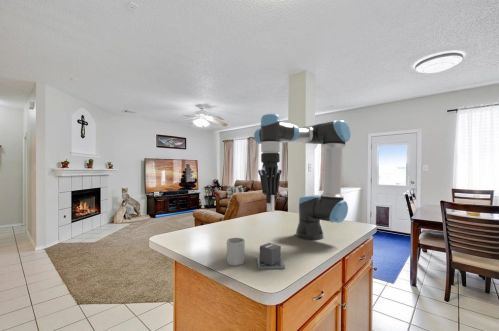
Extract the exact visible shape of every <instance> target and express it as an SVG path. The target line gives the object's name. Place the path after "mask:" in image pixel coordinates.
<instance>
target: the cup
mask: <svg viewBox="0 0 499 331" xmlns="http://www.w3.org/2000/svg"><path fill="white" fill-rule="evenodd" d="M245 242H246V241H245V239H244V238H242V237H230V238H228V239H227V240H226V263H227V264H228V265H230V266H232V265H233V267H237V266H238V265H239V266H242V265H243V264H244V263H245V257H246V256H245V250H246V249H245V248H246V246H245Z"/></svg>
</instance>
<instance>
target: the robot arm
mask: <svg viewBox="0 0 499 331" xmlns="http://www.w3.org/2000/svg"><path fill="white" fill-rule="evenodd" d="M260 118H261V119H260V128H257V129H256V130H255V132H254V133H253V137H254V138H253V139H254V141H255V142H256V143H257V144H260V146H261V147H260V148H261V149H260V151H261V154H260V161H261V164H262V168H261V169H258V171H257V172H258V175H259V180H260V186H261V191H262V192H261V193H262V194H264V195H265V198H266V212H272V213H273V212H275V201H276V197H275V196H277V195H278V193H279V188H280V181H281V175H282V172H283V171H282V169H279V165H278V163H280V162H281V160H280V153H279V152H280V150H281V149H280V148H281V147H280V143H300V142H301V143H303V144H311V145H312V144H314V145H322V147H323V149H325V152H324V175H323V193H321V194H320V195H319V194H318V195H305V196H300V197H299V200H298V218H299V219H298V224H297V227H296V231H295V236H297V238H300V239H304V240H314V241H315V240H322V239H323V238H324V231H323V228H322V226H321V221H326V222H330V223H331V224H332V223H335V224H340V223H343V221H345V219H346V218H347V216H348V212H349V204H348V203H347V201H346V200H344V195H342V194H341V192H342V190H341V189H342V167H343V165H342V164H343V163H342V162H343V149H344V148H345V147H346V143H347V142H349V141H350V139H351V129H350V127H349V124H348V122H346V121H344V120H341V119H340V120H333V121H328V122H323V123H317V124H313V125H307V126H303V127H299V126H298V125H296V124H293V123H288V122H283V121H280V116H279V114H275V113H266V114H264V115H262V116H261V117H260Z"/></svg>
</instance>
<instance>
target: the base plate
mask: <svg viewBox="0 0 499 331" xmlns="http://www.w3.org/2000/svg"><path fill="white" fill-rule="evenodd" d="M256 261H257V266H258V270H286V265H285V263H284V261H283V260H282V258H281V261H280V262H278V263H276V264H273V265H269V264H266V263H264V262H261V261H260V256H256Z"/></svg>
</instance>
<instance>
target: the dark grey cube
mask: <svg viewBox="0 0 499 331" xmlns="http://www.w3.org/2000/svg"><path fill="white" fill-rule="evenodd" d="M281 247H282V246H281V245H278V244H275V243H271V242H267V243H264V244H262V245H259V257H260V261H261V262H264V263H266V264H269V265H273V264H276V263H278V262H280V261H281V259H282V256H281V255H282V250H281V249H282V248H281Z"/></svg>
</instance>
